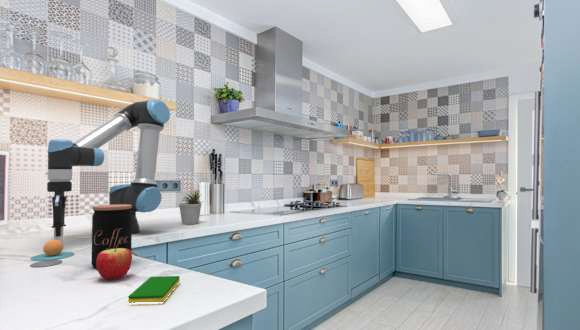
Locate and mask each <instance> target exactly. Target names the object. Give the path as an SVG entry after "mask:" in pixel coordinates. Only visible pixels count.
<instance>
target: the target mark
mask: <svg viewBox="0 0 580 330" xmlns="http://www.w3.org/2000/svg"><path fill="white" fill-rule="evenodd" d="M74 255H75V252H73V251H62V252H61V253H60V254H58V255H56V256H48V255H46V254H45V253H41V254H37V255H33V256H32V257H30V260H31V261H34V262H35V261H37V262H41V261H48V260H63V259H66V258H69V257H72V256H74Z"/></svg>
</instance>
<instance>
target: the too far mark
mask: <svg viewBox="0 0 580 330" xmlns="http://www.w3.org/2000/svg"><path fill="white" fill-rule="evenodd" d="M62 263H63V260H62V259H56V260H46V261H37V262H33V263H31V264H30V265H29V267H30V268H47V267H53V266H56V265H61V264H62Z"/></svg>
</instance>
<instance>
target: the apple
mask: <svg viewBox="0 0 580 330" xmlns="http://www.w3.org/2000/svg"><path fill="white" fill-rule="evenodd" d="M121 241H122V239H121V240H120V242H121ZM120 242H119V243H120ZM119 243H118V244H119ZM118 244H117V246H118ZM117 246H116V249H109V250H105V251H102V252H100V253H99V254H98V256H97V260H96V266H97V269H96V270H97V272H98V274H99V276H100V277H101V278H103V279H105V280H107V281H108V280H110V281H114V279H115V280H119V279H121V278H123V277H124V276H126V274H128V272H129V270H130V268H131V266H132V261H133V254H132V250H131V251H130V250H129V249H126V248H117Z"/></svg>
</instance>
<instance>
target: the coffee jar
mask: <svg viewBox="0 0 580 330" xmlns="http://www.w3.org/2000/svg"><path fill="white" fill-rule="evenodd" d="M131 208H132V205H128V204H115V205H109V204H99V205H94V206H92V210H93V212H94V213H92V216H91V224H92V225H91V266H92V267H93V268H94V269H96V270H97V266H96V260H97V256H98V254H99V253H100V252H102V251H105V250H109V249H116V246H117V244H118V243H119V242H120V240H121V239H122V241H121V242H120V243H119V244H118V246H117V248H126V249H129V250H130V251H131V252H132V240H133V239H132V236H133V235H132V234H133V233H132V212H131V211H130V209H131Z"/></svg>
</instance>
